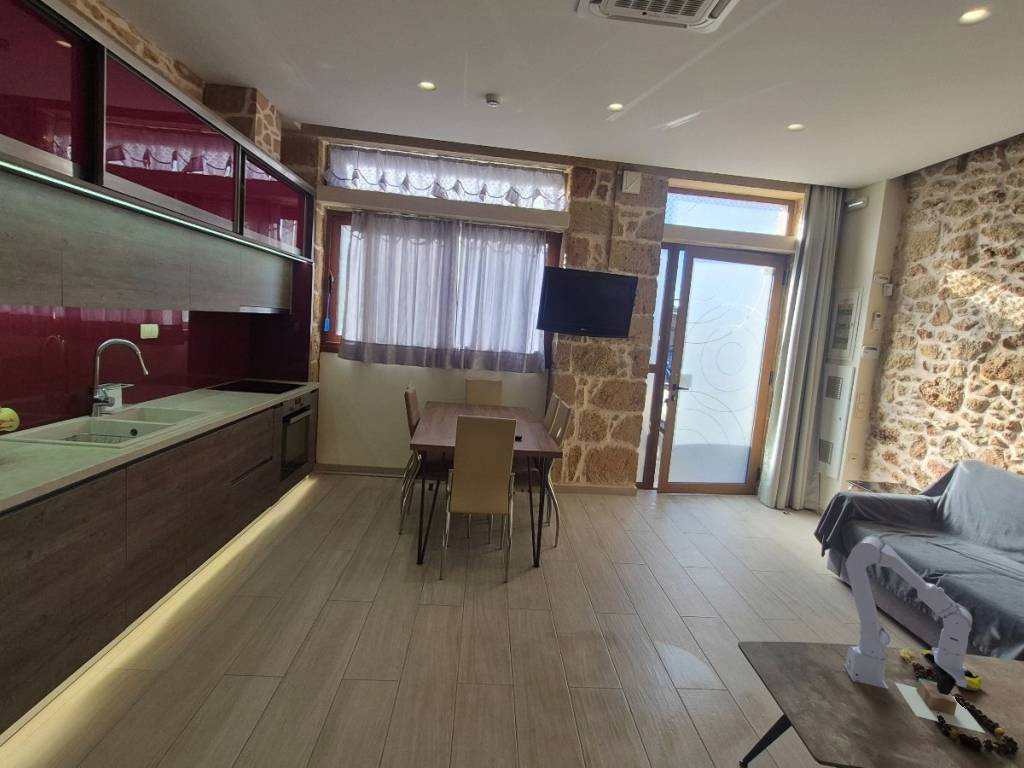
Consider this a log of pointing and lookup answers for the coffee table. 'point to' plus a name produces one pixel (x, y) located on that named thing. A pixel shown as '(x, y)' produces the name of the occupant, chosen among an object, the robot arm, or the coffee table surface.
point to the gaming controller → (973, 682)
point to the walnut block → (935, 697)
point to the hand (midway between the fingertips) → (942, 692)
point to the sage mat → (921, 710)
